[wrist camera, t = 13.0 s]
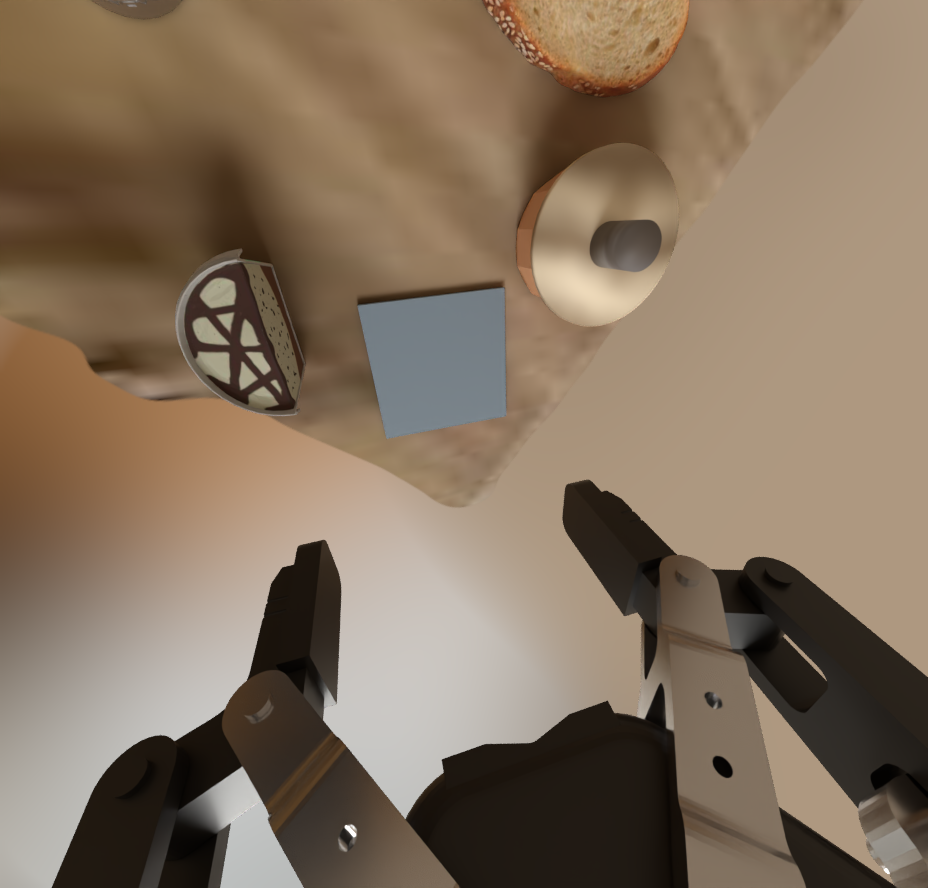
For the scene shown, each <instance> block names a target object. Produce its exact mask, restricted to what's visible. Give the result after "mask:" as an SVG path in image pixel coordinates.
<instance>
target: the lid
mask: <svg viewBox="0 0 928 888" xmlns="http://www.w3.org/2000/svg"><path fill="white" fill-rule="evenodd" d="M678 225H679V203H678V196H677V191H676V187H675V184H674V181H673V179H672V176H671V174H670V172H669V170H668V169H667V167H666V166H665V164H664V163H663V162H662V160H661V159H660V158H659V157H658V156H657V155H656V154H654V153H653V152H651V151H650V150H649V149H647V148H644V147H642V146H640V145H636V144H632V143H615V144H609V145H606V146H603V147H600V148H597V149H594V150H592V151H590V152H588V153H586V154H584V155H582V156H581V157H579V158H578V159H577V160H575V161H574V162H573V163H572V164H570V165H569V166H568V167H567V168H566V169H565V170H564V171H563V172H562V173H561V175H560V176H559V177H558V178H557V179H556V180H555V182H554V183H553V185H552V186H551V188H550V189H549V191H548V193H547V195H546V196H545V198H544V200H543V202H542V204H541V207H540V209H539V212H538V214H537V217H536V221H535V224H534V228H533V233H532V239H531V251H530V255H531V269H532V275H533V279H534V282H535V286H536V288H537V290H538V293H539V295H540V297H541V298H542V300H543V302H544V303H545V304H546V305H547V307H548V308H549V309H550V310H551V311H552V312H553V313H554V314H556V315H557V316H559V317H560V318H562V319H564V320H566V321H568V322H571V323H573V324H576V325H580V326H590V327H591V326H600V325H605V324H608V323H611V322H614V321H616V320H618V319H620V318H622V317H624V316H625V315H627V314H628V313H630V312H631V311H633V310H634V309H635V308H636V307H637V306H639V305H640V304H641V303H642V302H643V301H644V299H646V298H647V297H648V295H649V294H650V293H651V292H652V290H653V289H654V288H655V286H656V285H657V283H658V282H659V280H660V279H661V277H662V275H663V273H664V271H665V270H666V267H667V265H668V263H669V261H670V258H671V255H672V252H673V250H674V246H675V242H676V238H677V232H678Z"/></svg>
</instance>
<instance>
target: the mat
mask: <svg viewBox="0 0 928 888" xmlns="http://www.w3.org/2000/svg"><path fill="white" fill-rule="evenodd" d="M358 310H359V315H360V319H361V324H362V328H363V333H364V338H365V342H366V347H367V351H368V356H369V360H370V365H371V370H372V374H373V379H374V383H375V388H376V393H377V397H378V402H379V406H380V411H381V416H382V420H383V425H384V429H385V434H386V438H393V437H398V436H403V435H409V434H414V433H419V432H425V431H430V430H435V429H440V428H446V427H451V426H456V425H462V424H467V423H472V422H477V421H483V420H488V419H493V418H499V417H504V416H506V365H505V294H504V287H498V288H490V289H482V290H473V291H465V292H457V293H449V294H441V295H433V296H424V297H416V298H408V299H400V300H392V301H383V302H375V303H367V304H359V305H358Z"/></svg>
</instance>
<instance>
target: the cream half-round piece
mask: <svg viewBox="0 0 928 888" xmlns="http://www.w3.org/2000/svg"><path fill="white" fill-rule="evenodd" d="M241 253H242V248H241V249H236V250H231V251H227V252H224V253H222V254H219V255H217V256H214V257H213V258H211V259H210V260H208V261H207V262H205V263H203V264H202V265H201V266H200V267H199V268H198V269H197V270H196V271H195V272H194V273H193V274H192V275H191V277H190V278H189V280H188V282H187V283H186V285H185V286H184V288H183V289H182V291H181V294H180V297H179V299H178V302H177V307H176V313H175V325H176V333H177V338H178V342H179V345H180V347H181V350H182V352H183V355H184V357H185V359H186V361H187V362H188V364H189V366H190V367H191V369H192V371H193V372H194V373H195V374H196V375H197V377H198V378H199V379H200V380H201V381H202V382H203V383H204V384H205V385H206V386H207V387H208V388H209V389H210V390H211V391H213V392H214V393H215V394H217V395H218V396H219V397H221V398H222V399H224V400H226V401H227V402H229V403H231V404H233V405H235V406H237V407H240V408H242V409H245V410H247V411H251V412H254V413H258V414H263V415H270V416H289V415H296V414H298V413H299V411H300V409H297V405H298V401H299V396H300V391H301V386H302V381H303V376H304V371H305V366H306V364H305V361H304V358H303V355H302V352H301V349H300V346H299V343H298V340H297V337H296V334H295V331H294V328H293V325H292V322H291V319H290V316H289V313H288V310H287V307H286V304H285V301H284V298H283V295H282V292H281V289H280V286H279V283H278V280H277V277H276V274H275V270H274V267H273V264H270V263H264V262H258V261H252V260H246V259H241V258H240V257H239V256H240V254H241Z"/></svg>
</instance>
